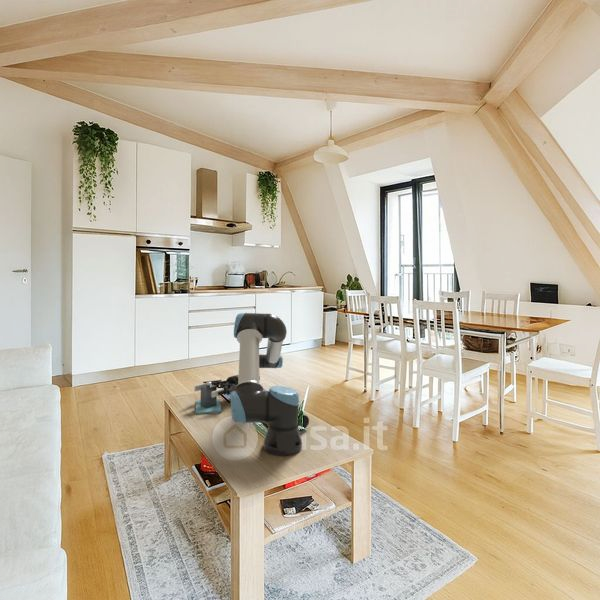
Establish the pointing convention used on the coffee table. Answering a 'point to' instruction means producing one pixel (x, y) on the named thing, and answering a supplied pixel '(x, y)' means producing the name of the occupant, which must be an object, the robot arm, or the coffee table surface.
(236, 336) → the robot arm
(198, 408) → the teal cloth
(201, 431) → the coffee table surface
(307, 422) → the end cap
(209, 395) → the lock block
